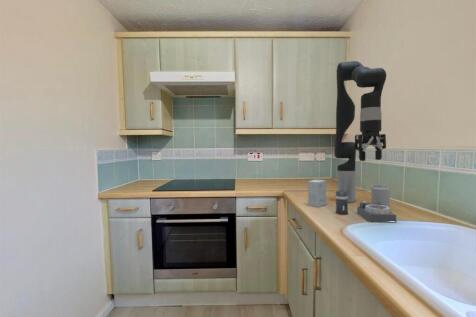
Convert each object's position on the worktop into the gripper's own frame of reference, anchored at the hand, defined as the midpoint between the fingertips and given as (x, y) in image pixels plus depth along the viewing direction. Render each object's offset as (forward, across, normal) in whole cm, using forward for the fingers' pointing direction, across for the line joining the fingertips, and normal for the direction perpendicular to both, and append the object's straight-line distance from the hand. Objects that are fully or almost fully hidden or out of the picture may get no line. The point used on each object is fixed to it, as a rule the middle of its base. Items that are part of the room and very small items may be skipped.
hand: (370, 160), depth 96 cm
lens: (+25, +2, -14) cm, 29 cm away
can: (+26, -20, -12) cm, 34 cm away
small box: (+26, +1, -32) cm, 41 cm away
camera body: (+25, -6, -3) cm, 26 cm away
